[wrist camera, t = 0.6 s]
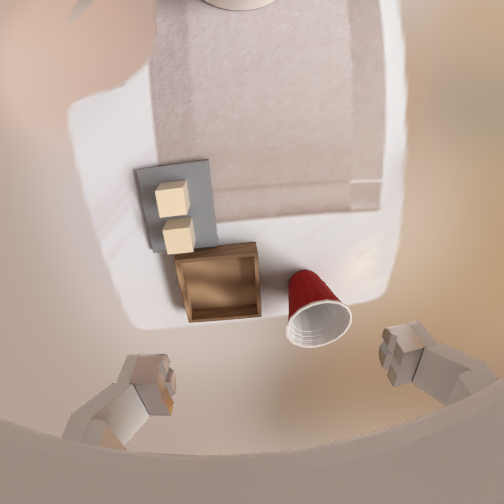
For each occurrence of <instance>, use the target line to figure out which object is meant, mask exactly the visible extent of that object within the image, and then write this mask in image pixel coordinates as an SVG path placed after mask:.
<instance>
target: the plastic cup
mask: <svg viewBox="0 0 504 504" xmlns="http://www.w3.org/2000/svg"><path fill="white" fill-rule="evenodd" d="M288 287H289V294H288V297H289V319H288V323H287V325H286V336H287V338H288V339H289V340H290V341H291V343H292V344H295V345H297V346H300V347H309V348H314V347H319V346H324V345H326V344H329V343H331V342H333V341H335V340H337V339H338V338H339V337H341V336H342V335H343V334H344V333H345V332H346V331H347V329H348V328H349V326H350V325H351V321H352V313H351V311H350V309H349V308H348V306H347V305H345V304H343V303H342V302H341V301H340V300H339V299H338V298H337V297H336V296H335V295H334V294H333V292H332V291H331V290H330V289H329V287H328V286H327V285H326V284H325V283H324V282H323V281H322V280H321V279H320V277H319V276H318V275H317V274H315V273H314V272H312V271H308V270H304V271H299V272H298V273H296V274H294V275H293V277H292V278H291V279H290V282H289V285H288Z"/></svg>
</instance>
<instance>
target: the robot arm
mask: <svg viewBox="0 0 504 504" xmlns="http://www.w3.org/2000/svg"><path fill="white" fill-rule="evenodd" d="M204 1H206V2H207V3H209V4H211V5H214V6H216V7H219V8H223V9H228V10H251V9H256V8H260V7H263V6H266V5H268V4H270V3H272V2H273V1H275V0H204ZM382 338H383V340H384V341H383V342H382V344H381V345H380V347H379V360H380V363H381V365H382V367H383V368H384V369H386V370H388V374H387V376H388V378H389V380H390V382H391V384H392V386H393V387H396V386H399V385H403V384H407V383H411V382H412V384H414V385H415V386H417V387H418V388H420V389H421V390H423V391H424V392H426V393H427V394H429V395H430V396H432V397H433V398H435V399H436V400H438V401H439V402H441V403H442V404H444V406H443V407H442V408H441V409H439V410H436V411H434V412H431V413H429V414H426V415H423V416H421V417H418V418H415V419H413V420H410V421H407V422H404V423H401V424H398V425H395V426H392V427H389V428H385V429H382V430H379V431H375V432H372V433H368V434H364V435H360V436H357V437H353V438H348V439H344V440H340V441H335V442H330V443H325V444H320V445H315V446H309V447H302V448H296V449H289V450H281V451H272V452H262V453H250V454H234V455H176V454H160V453H147V452H138V451H130V450H127V449H126V448H125V447H124V445H125V444H126V443H127V442H128V441H129V440H130V438H131V437H132V436H133V435H134V434H135V433H136V432H137V431H138V429H139V428H140V427H141V426H142V425H143V424H144V423H145V422H146V420H147V419H148V418H149V417H150V415H158V416H171V413H172V407H173V400H172V398H171V397H172V396H173V395H174V394H175V390H176V378H175V374H174V371H173V370H172V369H171V368H170V367H169V364H170V360H169V358H168V355H166V354H129V355H128V356H127V358H126V360H125V363H124V365H123V367H122V370H121V372H120V375H119V377H118V380H117V382H116V383H112V384H111V385H110V386H108V387H107V388H106V389H104V390H103V391H102V392H100V393H99V394H98V395H96V396H95V397H94V398H92V399H91V400H90V401H88V402H87V403H86V404H85V405H83V406H82V407H80V408H79V409H78V410H76V411H75V412H74V413H72V414H71V416H70V418H69V421H68V423H67V425H66V428H65V430H64V432H63V435H62V438H61V437H57V436H53V435H50V434H46V433H42V432H39V431H36V430H33V429H29V428H27V427H24V426H21V425H18V424H15V423H12V422H10V421H7V420H5V419H2V418H0V504H504V378H502V379H499V378H498V377H497V375H496V374H495V373H494V372H493V370H492V369H491V368H490V367H489V365H488V364H487V363H486V362H485V361H483V360H480V359H478V358H475V357H473V356H471V355H468V354H466V353H464V352H461V351H459V350H456V349H454V348H452V347H449V346H447V345H445V344H442V343H439V344H438V343H437V342H436V341H435V339H434V338H433V337H432V336H431V334H430V333H429V332H428V331H427V330H426V328H425V327H424V326H423V325H422V324H421V322H420V321H417V320H416V321H413V322H409V323H406V324H401V325H397V326H393V327H388V328H385V329H384V330H383V333H382Z"/></svg>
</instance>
